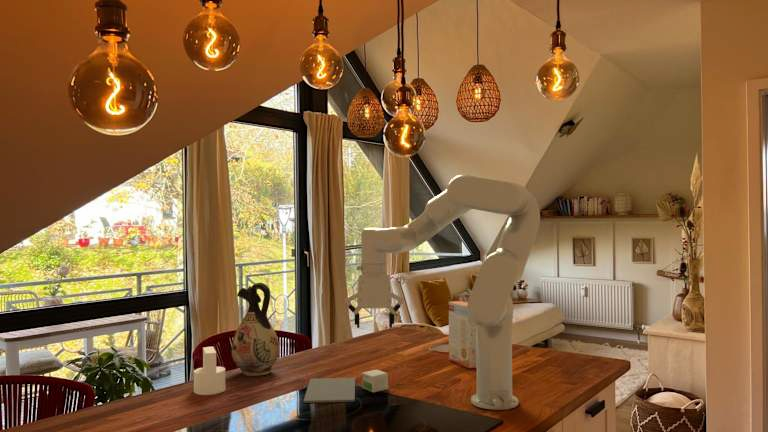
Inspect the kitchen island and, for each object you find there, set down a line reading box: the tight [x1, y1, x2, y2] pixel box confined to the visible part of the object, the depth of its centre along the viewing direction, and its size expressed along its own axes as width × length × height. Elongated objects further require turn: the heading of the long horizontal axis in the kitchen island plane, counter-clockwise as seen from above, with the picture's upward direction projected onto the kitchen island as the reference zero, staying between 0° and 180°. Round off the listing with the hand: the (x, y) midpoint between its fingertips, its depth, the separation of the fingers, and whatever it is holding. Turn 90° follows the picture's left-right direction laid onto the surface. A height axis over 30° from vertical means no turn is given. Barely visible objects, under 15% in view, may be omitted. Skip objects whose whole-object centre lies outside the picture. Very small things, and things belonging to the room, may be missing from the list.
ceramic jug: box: [231, 282, 280, 377], centre depth 192 cm, size 17×15×30 cm
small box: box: [361, 369, 389, 393], centre depth 174 cm, size 6×6×5 cm
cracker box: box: [448, 300, 477, 369], centre depth 202 cm, size 14×6×21 cm, turn 22°
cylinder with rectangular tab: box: [193, 346, 226, 396], centre depth 174 cm, size 9×9×12 cm
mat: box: [303, 377, 356, 404], centre depth 172 cm, size 22×14×1 cm, turn 2°
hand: (374, 326), depth 174 cm, fingers open, 9 cm apart
